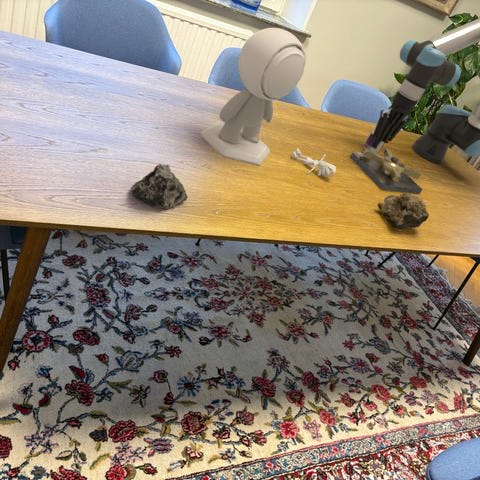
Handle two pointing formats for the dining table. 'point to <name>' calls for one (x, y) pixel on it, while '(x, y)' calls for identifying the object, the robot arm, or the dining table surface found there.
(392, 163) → the four spoke knob plate
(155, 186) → the rock
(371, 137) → the pill bottle
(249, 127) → the big headed doll
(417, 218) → the mineral specimen
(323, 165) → the figurine
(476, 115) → the robot arm
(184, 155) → the dining table surface
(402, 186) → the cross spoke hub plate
